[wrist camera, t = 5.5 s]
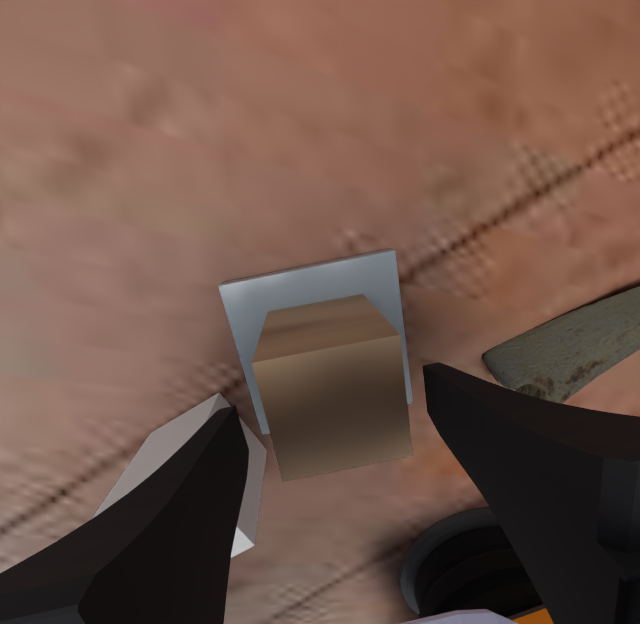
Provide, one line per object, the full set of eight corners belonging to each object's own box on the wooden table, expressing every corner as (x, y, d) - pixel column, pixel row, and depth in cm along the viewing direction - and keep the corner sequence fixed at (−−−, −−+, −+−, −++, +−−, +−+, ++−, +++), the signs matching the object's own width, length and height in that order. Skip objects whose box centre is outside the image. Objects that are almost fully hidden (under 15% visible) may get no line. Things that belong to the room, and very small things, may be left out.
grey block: (267, 450, 20) (254, 545, 14) (202, 486, 20) (164, 593, 14) (219, 391, 18) (183, 471, 12) (150, 432, 19) (85, 526, 13)
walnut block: (374, 378, 17) (412, 455, 12) (287, 395, 17) (282, 481, 12) (362, 293, 16) (400, 334, 10) (267, 311, 16) (251, 363, 10)
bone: (501, 414, 20) (543, 452, 17) (475, 353, 19) (515, 380, 16) (686, 323, 20) (770, 343, 16) (672, 252, 18) (761, 257, 15)
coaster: (407, 393, 19) (413, 402, 18) (263, 423, 19) (262, 435, 18) (389, 248, 16) (395, 250, 15) (222, 282, 16) (218, 286, 15)
